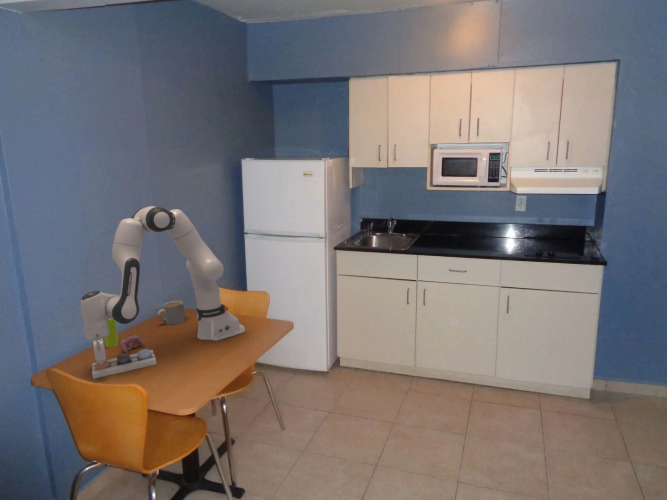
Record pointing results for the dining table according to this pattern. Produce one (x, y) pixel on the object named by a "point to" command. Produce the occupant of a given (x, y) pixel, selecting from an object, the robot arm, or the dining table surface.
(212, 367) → the dining table surface
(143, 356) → the pale blue button
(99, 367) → the terracotta button
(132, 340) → the video game controller
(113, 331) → the soap dispenser
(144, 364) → the button board
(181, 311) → the coffee mug
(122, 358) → the charcoal button
